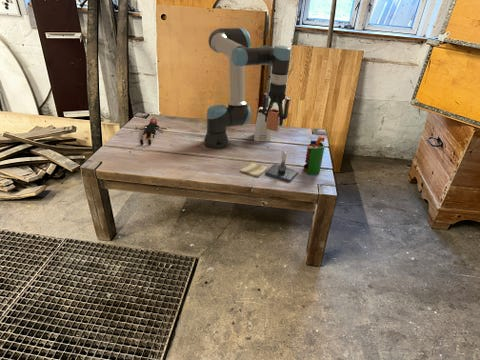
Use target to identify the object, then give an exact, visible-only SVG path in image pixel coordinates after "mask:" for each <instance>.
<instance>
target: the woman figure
mask: <svg viewBox="0 0 480 360" xmlns="http://www.w3.org/2000/svg"><path fill="white" fill-rule="evenodd" d="M145 127H147V128H145ZM156 127H158V128H161V129H160V130H165V131H167V127H166V126H165V127H161V126H159V125H158V119H157V118H154V117H152V118H150V120H149V122H148V124H147V125H145V126H144V127H143V126H142V127H141V126H140V127H137V126H136V127H134V130H136V131H137V130H143V129H142V128H145V130H144V131H143V134H142V138H141V139H140V140H139V142H140V145H141V146H144V143H145V141H146V139H147V136H148V135H149V134H150V135H149V138H148V145H149V146H151V145H152V142H153V139H154V136H153V134H154V135H155V136H156V132H157V131H156V129H158V128H156ZM149 132H150V133H149ZM144 133H145V134H144ZM143 135H144V137H143Z"/></svg>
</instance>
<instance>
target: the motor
mask: <svg viewBox="0 0 480 360" xmlns="http://www.w3.org/2000/svg"><path fill="white" fill-rule="evenodd" d="M325 138H326V137H325V136H322V135H321V136H319V137H317V139H315V140H314V139H313V140H312V139H310V143H309V144H307V148H306V155H305V160H304V162H305V164H303V170H302V171H304V173H306V175H308V176H309V175H310V176H316V175H319V174H320V173H321V169H322V162H323V157H324V151H325V145H326V144H325V143H324V142H325V141H326V140H325Z"/></svg>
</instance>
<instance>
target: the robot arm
mask: <svg viewBox="0 0 480 360" xmlns="http://www.w3.org/2000/svg"><path fill="white" fill-rule="evenodd" d="M207 42H208V46H209V47H210V49H211V50H212V51H213V52H215V53H217V54H218V53H219V54H220V53H221V54H223V55H224V56H226V57H228V60H229V61H228V62H229V63H228V66H229V69H228V70H229V71H228V72H229V95H230V96H229V98H230V99H229V100H230V101H228V102H227V106H226V105H225V104H214V105H211V106H209V107H208V108H207V111H206V134H205V136H204V138H203V139H204V142H203V144H204V146H205V147H207V148H208V149H214V150H215V149H216V150H217V149H218V150H221V149H224V148H227V147H228V146H229V145H230V141H229V137H228V133H227V128H229V127H238V126H239V127H241V126H243V125H248V124H249V123H250V121H251V118H252V110H251V107H250V105H248V102H247V101H246V100H245V99H246V98H245V95H246V94H245V89H246V87H245V66H246V67H247V66H270V67H271V72H270V83H269V91H268V92H265V93H263V94H262V99H263V101H262V107H263V109H261V113H262V114H264V115H265V122H267V119H268V111H270V110H271V109H272V108H273V106H274V104H277V108H278V109H277V110H279V119H278V124H277V131H275V132H276V133H279V132H280V131H281V126H283V125H284V124H283V123H284V120H286V119H287V118H288V116H289V110H290V109H289V107H290V103H291V101H292V99H291V97H287V95H286V90H287V83H288V76H289V69H290V63H291V52H292V51H291V48H290V47H289V46H285V45H275V46H274V47H273V46H271V45H263V46H260V47H251V46H252V41H251V36H250V33H249V32H248V30H247V29H245V28H240V27H235V28H233V27H231V28H229V27H227V28H223V27H220V28H216V29H215V30H213V31H212V32H211V33H210V35H209V36H208V41H207ZM268 100H269V101H268ZM268 102H269V103H268ZM283 102H285V103H283ZM283 104H284V105H283ZM283 106H284V107H283ZM267 107H268V109H267ZM266 128H267V123H266Z"/></svg>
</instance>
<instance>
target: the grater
mask: <svg viewBox="0 0 480 360" xmlns="http://www.w3.org/2000/svg"><path fill="white" fill-rule="evenodd" d="M262 109H263V106H260V107H258V112H257V116H256V117H257V118H256V123H255V128H254V133H253V140H254V142H270V143H271V135H272V134H271V130H269V129H266V123H267V122H265V115H264V114H262V112H259V111H260V110H262ZM267 109H268V106H267Z"/></svg>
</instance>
